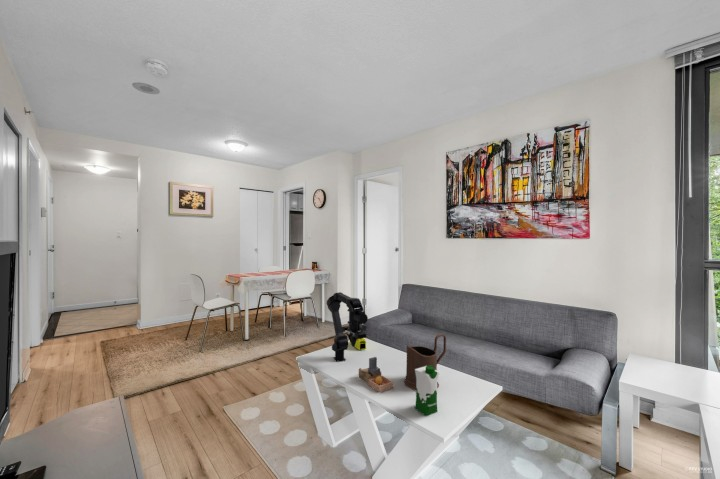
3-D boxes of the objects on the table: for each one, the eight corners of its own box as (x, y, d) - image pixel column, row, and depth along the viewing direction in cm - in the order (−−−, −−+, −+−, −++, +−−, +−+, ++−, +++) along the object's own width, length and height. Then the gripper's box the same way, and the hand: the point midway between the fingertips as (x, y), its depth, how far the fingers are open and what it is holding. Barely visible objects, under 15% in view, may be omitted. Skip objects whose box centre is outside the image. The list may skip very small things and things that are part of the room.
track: (358, 377, 173) (358, 368, 173) (370, 374, 178) (370, 365, 178) (369, 384, 165) (369, 375, 165) (381, 381, 170) (381, 371, 170)
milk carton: (426, 417, 135) (426, 371, 135) (411, 408, 143) (412, 364, 143) (440, 412, 140) (441, 367, 140) (426, 402, 148) (426, 360, 148)
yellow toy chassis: (348, 344, 229) (349, 332, 228) (356, 343, 231) (356, 331, 231) (358, 351, 214) (359, 339, 214) (366, 350, 217) (366, 338, 217)
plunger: (368, 373, 169) (368, 358, 169) (375, 371, 171) (375, 356, 171) (372, 376, 165) (372, 360, 165) (380, 374, 168) (380, 359, 168)
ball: (380, 383, 161) (377, 387, 164) (385, 380, 164) (382, 383, 167) (375, 377, 163) (372, 380, 166) (380, 373, 166) (377, 377, 168)
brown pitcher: (397, 378, 173) (398, 333, 173) (435, 372, 182) (435, 329, 182) (414, 394, 156) (415, 343, 156) (455, 386, 164) (455, 339, 164)
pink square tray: (368, 385, 165) (368, 379, 165) (382, 380, 170) (382, 375, 170) (379, 392, 157) (379, 386, 157) (393, 387, 162) (393, 382, 162)
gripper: (374, 321, 182) (373, 348, 182) (356, 315, 198) (356, 339, 198) (358, 324, 176) (357, 352, 176) (341, 317, 192) (340, 342, 192)
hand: (353, 346), depth 186 cm, fingers closed
